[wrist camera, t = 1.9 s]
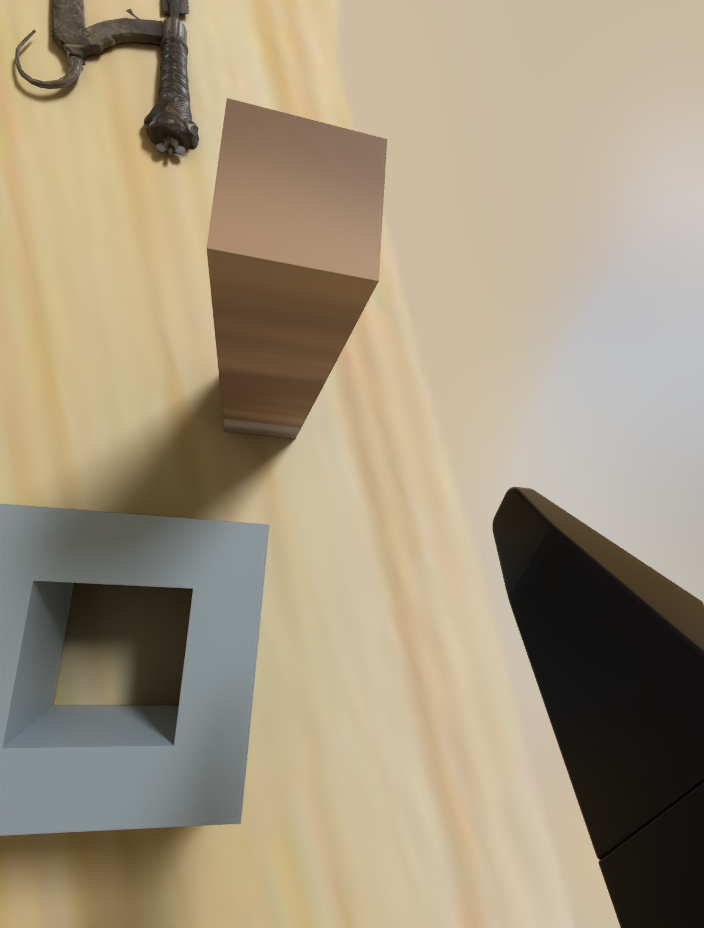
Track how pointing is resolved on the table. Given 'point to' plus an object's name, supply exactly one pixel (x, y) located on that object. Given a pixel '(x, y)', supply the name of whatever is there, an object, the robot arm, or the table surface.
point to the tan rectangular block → (289, 259)
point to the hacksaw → (172, 112)
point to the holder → (125, 726)
